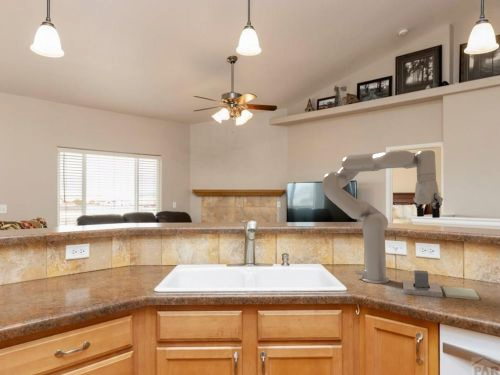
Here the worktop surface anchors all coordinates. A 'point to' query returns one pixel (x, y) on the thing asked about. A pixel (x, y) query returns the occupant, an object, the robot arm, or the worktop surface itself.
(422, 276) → the block
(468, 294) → the board
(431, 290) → the socket plate
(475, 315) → the worktop surface
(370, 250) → the robot arm
